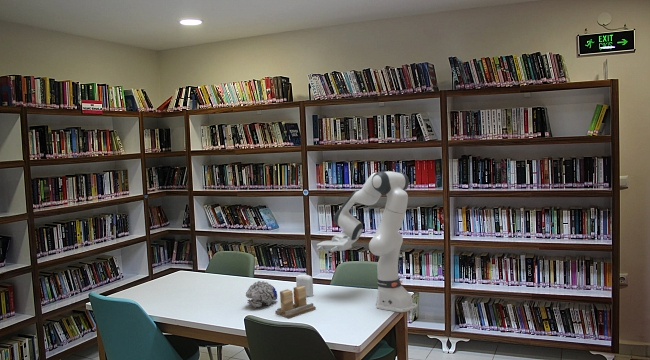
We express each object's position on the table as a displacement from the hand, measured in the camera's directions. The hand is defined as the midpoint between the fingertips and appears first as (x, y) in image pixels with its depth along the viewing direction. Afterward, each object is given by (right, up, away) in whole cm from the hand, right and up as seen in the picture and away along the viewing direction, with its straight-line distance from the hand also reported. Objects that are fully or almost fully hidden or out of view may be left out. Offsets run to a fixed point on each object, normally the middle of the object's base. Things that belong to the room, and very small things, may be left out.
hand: (324, 250), depth 288 cm
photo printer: (-11, -29, +19) cm, 36 cm away
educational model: (-35, -31, +5) cm, 47 cm away
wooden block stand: (-15, -31, -10) cm, 36 cm away
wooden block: (-13, -29, -8) cm, 33 cm away
